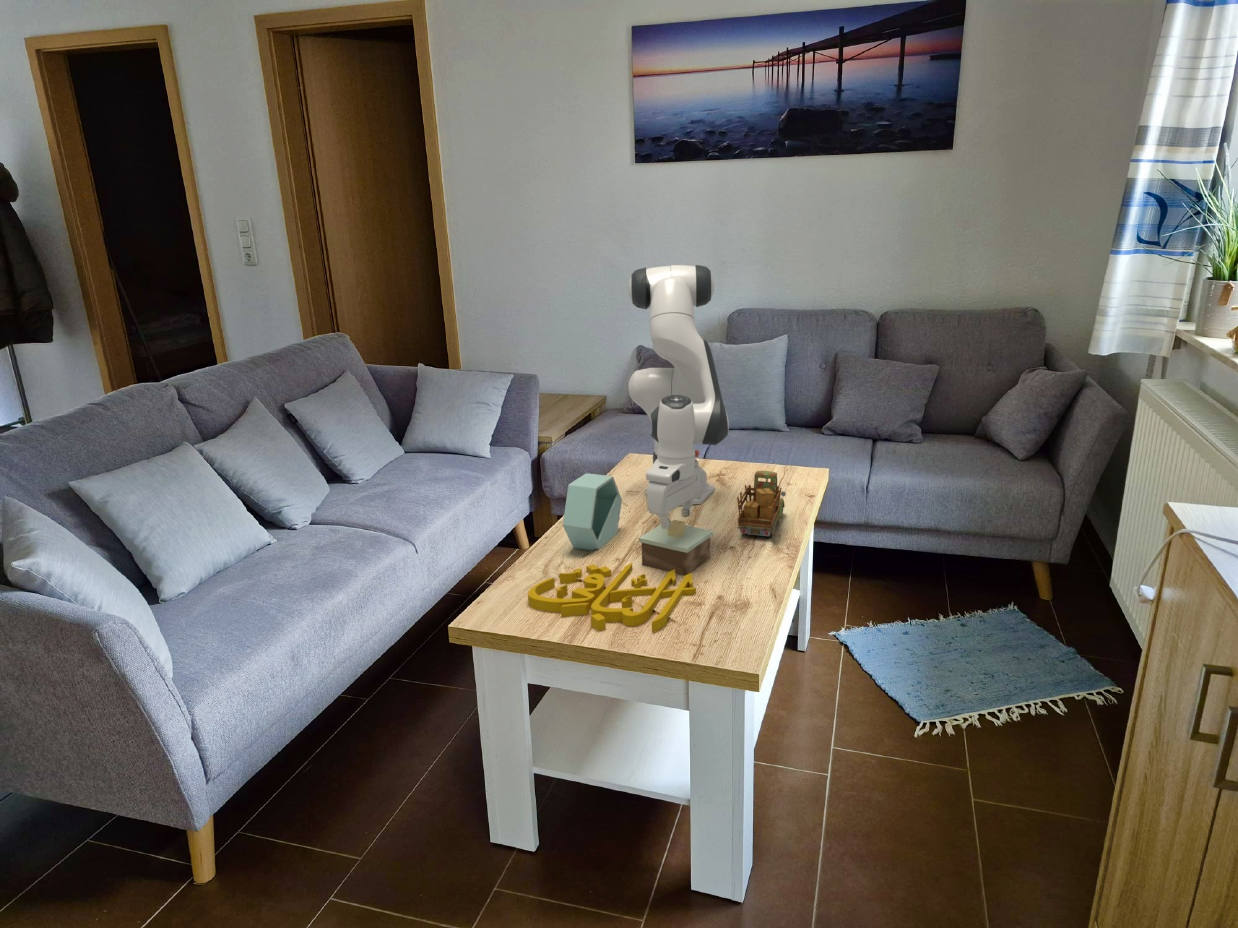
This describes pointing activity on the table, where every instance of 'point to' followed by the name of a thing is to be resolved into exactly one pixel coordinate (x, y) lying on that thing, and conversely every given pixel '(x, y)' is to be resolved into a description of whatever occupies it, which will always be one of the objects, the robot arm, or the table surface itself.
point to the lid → (676, 536)
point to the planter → (592, 511)
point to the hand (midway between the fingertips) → (676, 522)
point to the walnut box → (675, 557)
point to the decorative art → (610, 597)
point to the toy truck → (761, 506)
